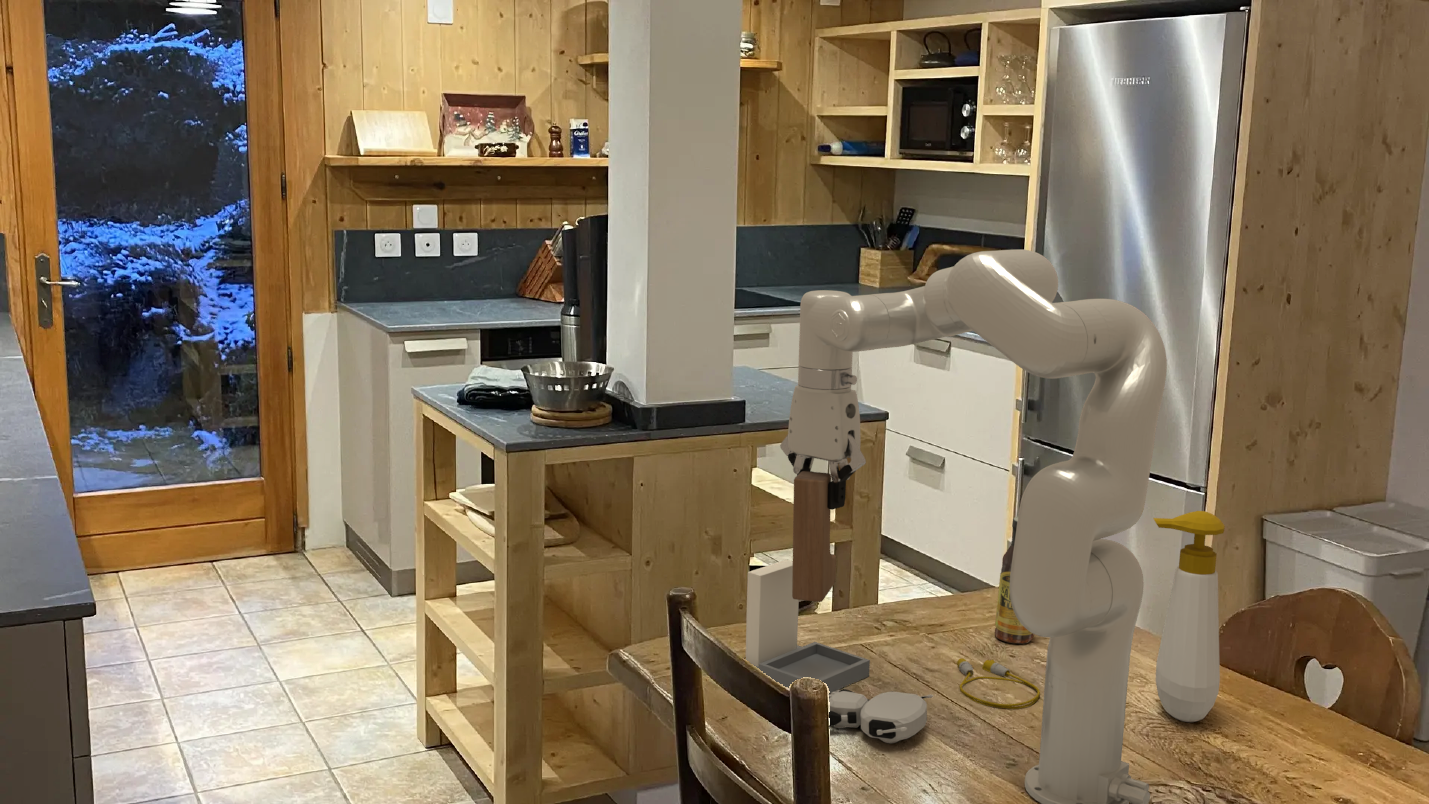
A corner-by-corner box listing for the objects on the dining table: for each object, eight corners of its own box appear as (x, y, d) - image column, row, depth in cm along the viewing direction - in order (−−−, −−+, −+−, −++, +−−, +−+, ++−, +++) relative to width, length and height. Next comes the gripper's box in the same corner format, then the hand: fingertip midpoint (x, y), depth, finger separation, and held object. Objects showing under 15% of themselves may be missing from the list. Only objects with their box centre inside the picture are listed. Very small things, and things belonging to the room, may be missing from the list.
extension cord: (1038, 674, 202) (1039, 661, 201) (1040, 716, 187) (1041, 702, 186) (956, 666, 204) (957, 653, 204) (952, 707, 189) (952, 693, 189)
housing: (869, 676, 198) (873, 578, 196) (813, 700, 189) (817, 599, 186) (786, 647, 209) (789, 555, 206) (730, 669, 200) (732, 573, 197)
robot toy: (802, 742, 178) (911, 757, 172) (800, 709, 178) (910, 724, 171) (834, 708, 189) (938, 722, 183) (833, 678, 188) (937, 690, 182)
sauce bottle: (992, 643, 213) (999, 522, 209) (996, 630, 219) (1003, 512, 215) (1034, 648, 211) (1042, 526, 207) (1037, 634, 217) (1045, 516, 213)
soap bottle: (1132, 691, 195) (1148, 496, 190) (1207, 697, 193) (1225, 501, 188) (1143, 727, 182) (1160, 521, 177) (1223, 735, 181) (1243, 526, 175)
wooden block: (806, 580, 200) (808, 463, 196) (836, 583, 199) (838, 465, 195) (791, 599, 192) (793, 477, 188) (822, 603, 190) (824, 480, 187)
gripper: (889, 383, 186) (884, 510, 189) (795, 368, 197) (791, 488, 201) (856, 390, 181) (851, 520, 184) (761, 374, 192) (758, 497, 195)
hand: (820, 502), depth 192 cm, fingers closed on wooden block, 5 cm apart
